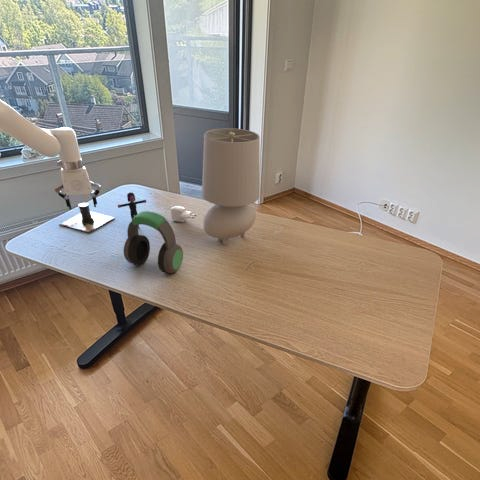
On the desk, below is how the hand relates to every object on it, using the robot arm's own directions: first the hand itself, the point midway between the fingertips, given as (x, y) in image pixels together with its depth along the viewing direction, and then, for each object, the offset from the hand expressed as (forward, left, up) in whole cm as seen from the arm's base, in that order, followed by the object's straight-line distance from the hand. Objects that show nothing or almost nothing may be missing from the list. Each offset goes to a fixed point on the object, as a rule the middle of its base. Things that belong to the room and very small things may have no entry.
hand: (83, 207), depth 145 cm
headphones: (+21, -44, -7) cm, 49 cm away
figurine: (+19, -11, -7) cm, 23 cm away
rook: (0, 0, -6) cm, 6 cm away
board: (0, 0, -7) cm, 7 cm away
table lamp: (+54, -33, -7) cm, 64 cm away
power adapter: (+40, -11, -7) cm, 42 cm away
